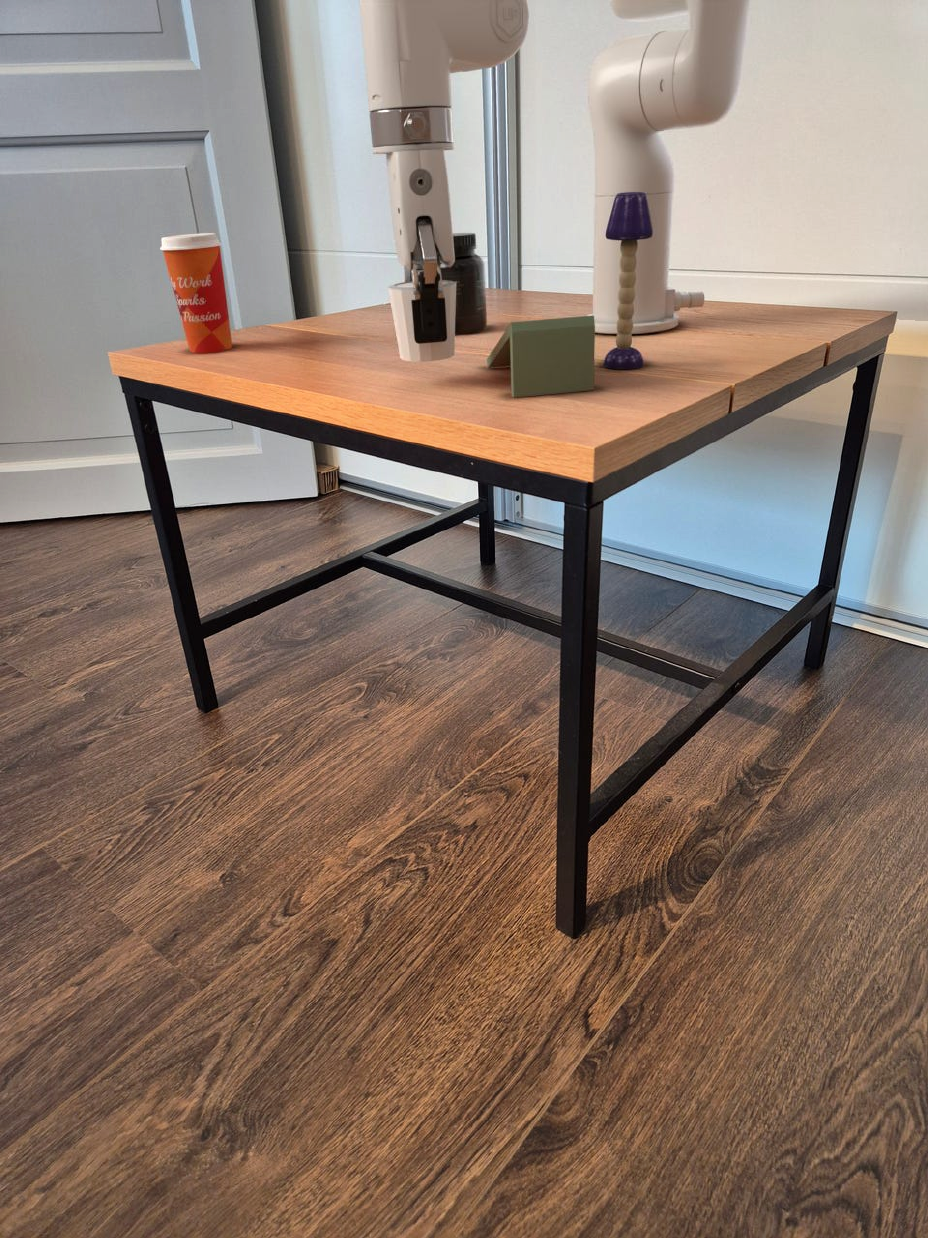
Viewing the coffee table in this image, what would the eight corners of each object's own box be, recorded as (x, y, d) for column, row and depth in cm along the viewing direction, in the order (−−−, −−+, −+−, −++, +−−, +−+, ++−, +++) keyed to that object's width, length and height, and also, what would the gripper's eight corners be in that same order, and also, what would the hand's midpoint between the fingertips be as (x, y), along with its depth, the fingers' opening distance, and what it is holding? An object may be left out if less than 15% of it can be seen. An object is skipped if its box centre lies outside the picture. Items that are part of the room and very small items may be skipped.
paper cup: (169, 354, 111) (144, 239, 104) (204, 342, 117) (182, 233, 110) (219, 355, 108) (196, 237, 101) (252, 343, 114) (232, 231, 108)
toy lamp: (655, 365, 89) (664, 190, 81) (622, 373, 87) (629, 193, 79) (624, 359, 93) (630, 190, 85) (592, 366, 91) (595, 194, 82)
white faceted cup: (452, 362, 82) (448, 286, 79) (386, 363, 84) (379, 289, 80) (466, 348, 88) (463, 277, 85) (404, 349, 90) (398, 280, 86)
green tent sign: (487, 367, 93) (484, 301, 90) (557, 361, 94) (556, 296, 90) (513, 397, 80) (511, 323, 77) (593, 390, 81) (595, 315, 78)
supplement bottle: (428, 333, 113) (421, 237, 108) (453, 324, 119) (447, 232, 113) (472, 335, 110) (467, 236, 105) (495, 326, 116) (492, 231, 110)
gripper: (467, 126, 69) (476, 347, 78) (440, 135, 85) (451, 319, 93) (377, 131, 69) (397, 354, 77) (366, 139, 84) (384, 325, 92)
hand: (426, 334), depth 85 cm, fingers closed on white faceted cup, 6 cm apart
